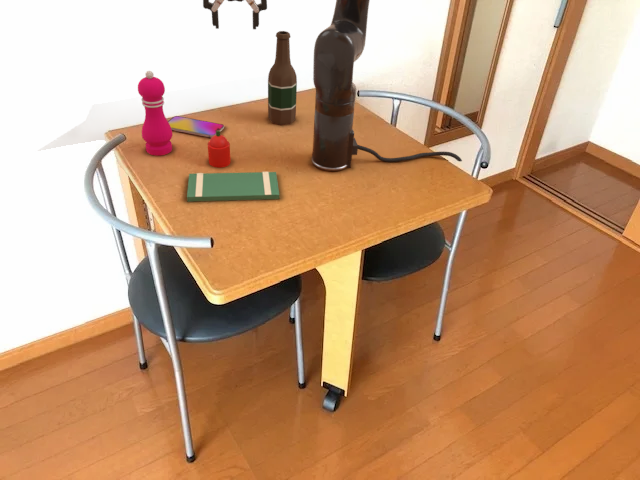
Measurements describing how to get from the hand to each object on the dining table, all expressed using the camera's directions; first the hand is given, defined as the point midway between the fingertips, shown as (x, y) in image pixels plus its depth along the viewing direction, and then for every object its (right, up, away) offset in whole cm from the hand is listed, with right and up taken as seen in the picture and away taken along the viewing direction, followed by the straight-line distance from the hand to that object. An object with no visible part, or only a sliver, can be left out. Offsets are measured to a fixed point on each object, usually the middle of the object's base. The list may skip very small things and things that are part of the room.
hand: (236, 28), depth 128 cm
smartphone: (-14, -19, +20) cm, 31 cm away
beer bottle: (+9, -15, +27) cm, 33 cm away
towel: (0, -37, -3) cm, 38 cm away
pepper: (-5, -30, +6) cm, 31 cm away
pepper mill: (-21, -27, +9) cm, 35 cm away
